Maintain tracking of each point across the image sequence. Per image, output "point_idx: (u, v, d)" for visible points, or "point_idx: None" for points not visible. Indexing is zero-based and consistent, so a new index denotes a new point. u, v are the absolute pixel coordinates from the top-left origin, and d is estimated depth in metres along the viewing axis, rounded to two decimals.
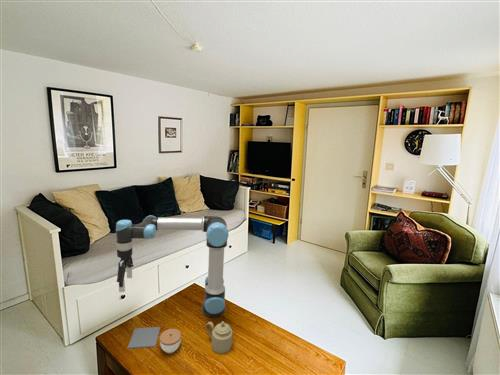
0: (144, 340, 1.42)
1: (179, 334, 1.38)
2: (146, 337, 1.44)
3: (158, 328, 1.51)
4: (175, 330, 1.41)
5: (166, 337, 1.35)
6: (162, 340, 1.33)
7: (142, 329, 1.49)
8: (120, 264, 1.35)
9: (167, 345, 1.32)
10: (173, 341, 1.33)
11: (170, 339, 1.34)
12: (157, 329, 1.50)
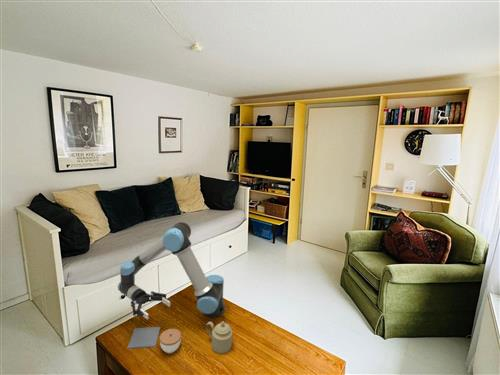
0: (144, 340, 1.42)
1: (179, 334, 1.38)
2: (146, 337, 1.44)
3: (158, 328, 1.51)
4: (175, 330, 1.41)
5: (166, 337, 1.35)
6: (162, 340, 1.33)
7: (142, 329, 1.49)
8: (131, 304, 1.44)
9: (167, 345, 1.32)
10: (173, 341, 1.33)
11: (170, 339, 1.34)
12: (157, 329, 1.50)
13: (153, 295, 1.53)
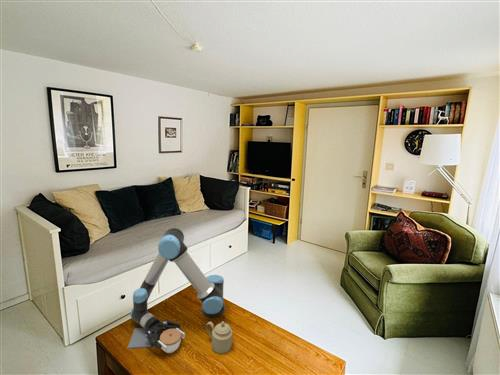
0: (144, 340, 1.42)
1: (179, 334, 1.38)
2: None
3: None
4: (175, 330, 1.41)
5: (166, 337, 1.35)
6: (162, 340, 1.33)
7: (142, 329, 1.49)
8: (145, 335, 1.38)
9: (167, 345, 1.32)
10: (173, 341, 1.33)
11: (170, 339, 1.34)
12: None
13: (167, 324, 1.47)
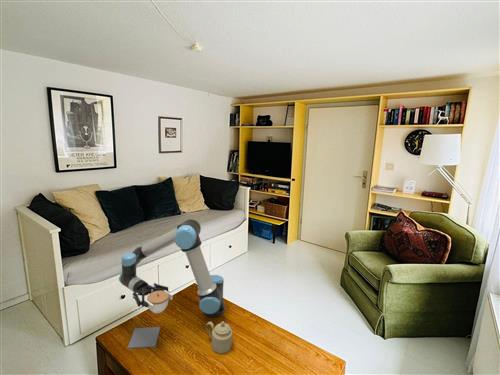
0: (144, 340, 1.42)
1: (167, 295, 1.38)
2: (146, 337, 1.44)
3: (158, 328, 1.51)
4: (163, 291, 1.41)
5: (153, 297, 1.35)
6: (149, 299, 1.33)
7: (142, 329, 1.49)
8: (133, 296, 1.38)
9: (154, 304, 1.32)
10: (160, 300, 1.33)
11: (157, 299, 1.34)
12: (157, 329, 1.50)
13: (155, 287, 1.47)
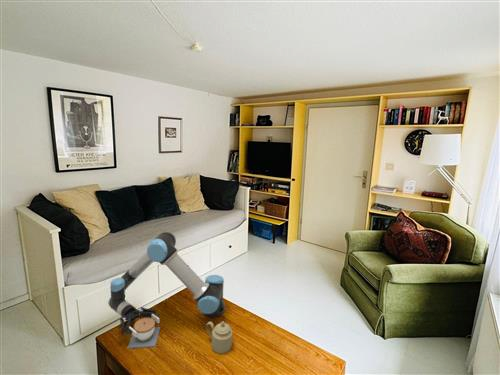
0: None
1: (153, 322, 1.44)
2: None
3: (158, 328, 1.51)
4: (150, 319, 1.47)
5: (140, 325, 1.42)
6: (136, 328, 1.40)
7: None
8: (120, 321, 1.44)
9: (140, 332, 1.38)
10: (146, 329, 1.39)
11: (143, 327, 1.40)
12: (157, 329, 1.50)
13: (143, 311, 1.54)
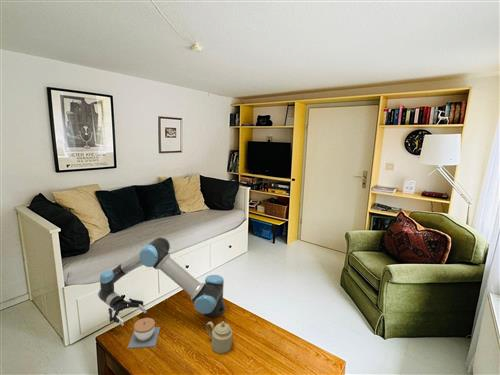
0: None
1: (153, 322, 1.44)
2: None
3: (158, 328, 1.51)
4: (150, 319, 1.47)
5: (140, 325, 1.42)
6: (136, 328, 1.39)
7: None
8: None
9: (140, 332, 1.38)
10: (146, 329, 1.39)
11: (143, 327, 1.40)
12: (157, 329, 1.50)
13: (131, 302, 1.61)
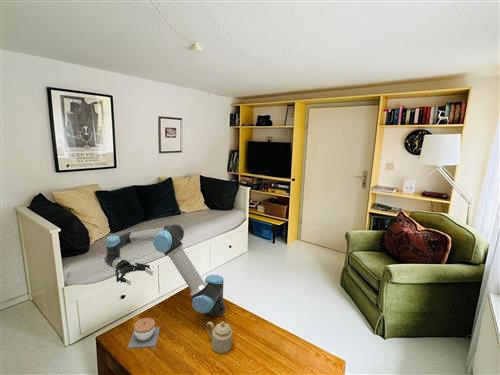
0: None
1: (153, 322, 1.44)
2: None
3: (158, 328, 1.51)
4: (150, 319, 1.47)
5: (140, 325, 1.42)
6: (136, 328, 1.40)
7: None
8: (115, 273, 1.52)
9: (140, 332, 1.38)
10: (146, 329, 1.39)
11: (143, 327, 1.40)
12: (157, 329, 1.50)
13: None
